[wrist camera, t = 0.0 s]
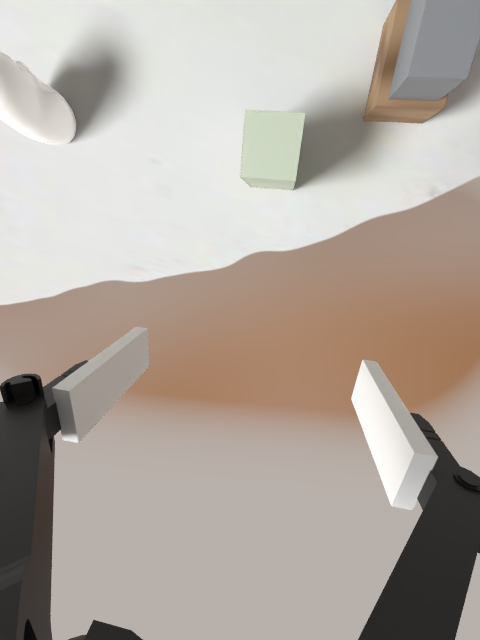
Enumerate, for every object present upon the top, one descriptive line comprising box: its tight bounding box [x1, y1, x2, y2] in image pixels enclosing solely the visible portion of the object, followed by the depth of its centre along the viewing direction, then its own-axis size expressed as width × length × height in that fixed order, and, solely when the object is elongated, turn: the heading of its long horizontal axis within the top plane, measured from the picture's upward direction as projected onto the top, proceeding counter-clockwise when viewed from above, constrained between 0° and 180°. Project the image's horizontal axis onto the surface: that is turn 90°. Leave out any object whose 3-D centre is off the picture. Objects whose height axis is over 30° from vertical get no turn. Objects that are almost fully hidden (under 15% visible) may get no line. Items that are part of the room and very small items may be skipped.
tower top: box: [388, 0, 480, 101], centre depth 25 cm, size 8×5×5 cm, turn 176°
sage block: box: [240, 110, 305, 190], centre depth 32 cm, size 6×6×10 cm
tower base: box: [363, 0, 448, 123], centre depth 30 cm, size 9×7×5 cm
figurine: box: [0, 52, 76, 145], centre depth 33 cm, size 7×8×12 cm
